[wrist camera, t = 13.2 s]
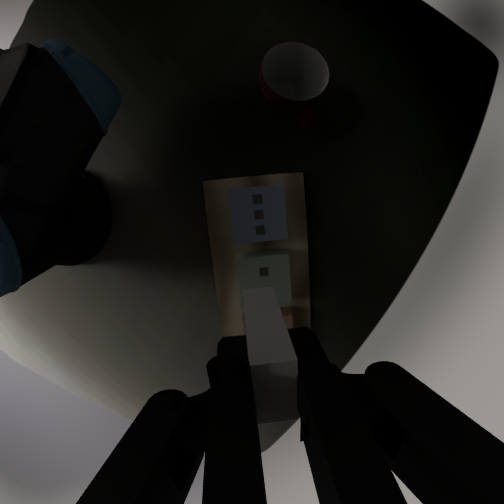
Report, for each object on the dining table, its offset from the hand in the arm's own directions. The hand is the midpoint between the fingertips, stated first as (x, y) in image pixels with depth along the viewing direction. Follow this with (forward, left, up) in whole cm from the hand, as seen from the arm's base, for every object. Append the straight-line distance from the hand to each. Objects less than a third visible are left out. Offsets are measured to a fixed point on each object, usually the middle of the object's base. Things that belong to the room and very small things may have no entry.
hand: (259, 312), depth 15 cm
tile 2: (+2, -7, -27) cm, 28 cm away
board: (+2, -7, -28) cm, 29 cm away
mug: (+8, +18, -29) cm, 35 cm away
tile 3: (+2, +2, -27) cm, 27 cm away
